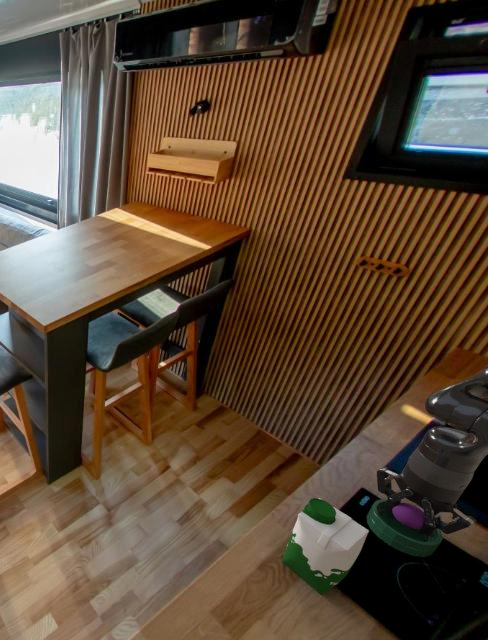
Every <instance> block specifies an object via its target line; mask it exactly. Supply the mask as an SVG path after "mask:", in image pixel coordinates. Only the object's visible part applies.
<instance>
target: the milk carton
mask: <svg viewBox="0 0 488 640" xmlns="http://www.w3.org/2000/svg"><path fill="white" fill-rule="evenodd" d="M369 532H370V530H369V529H367V528H366V527H364V526H362V525H361V524H360V523H358V522H357V521H355V520H354V519H353V518H352V517H350V516H349V515H347V514H345V513H344V512H342V511H341V510H339V509H338V508H336V507H334V506H333V505H332V504H330V503H329V502H328V501H326V500H324V499H322V498H321V497H318V498H317V497H313V498H312V497H311V498H309V500H308V503H307V504H306V505H305V506H304V508H303V509H302V510H300V513H298V514H297V519H296V522H295V524H294V527H293V529H292V532H291V534H290V537H289V539H288V541H287V544H286V549H285V551H284V554H283V557H282V561H281V562H282V563H283V564H284V565H285V566H286V567H288V568H289V569H290V570H291V571H292V572H293V573H295V574H296V575H297V576H298V577H299V578H300V579H301V580H303V581H304V582H305V583H307V585H309V586H310V587H311V588H312V589H314V590H315V591H316V592H317V593H318V594H319V595H323V594H325V593H326V592H328V591H329V590H331V589H332V588H333V587H335V586H336V585H338V584H339V583H340V582H342V580H343V579H345V577H347V576H348V574H349V573H350V571H351V569H352V567H353V566H354V564H355V562H356V560H357V558H358V557H359V555H360V553H361V551H362V549H363V546H364V543H365V541H366V539H367V536H368V534H369Z"/></svg>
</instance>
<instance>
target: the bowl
mask: <svg viewBox="0 0 488 640" xmlns="http://www.w3.org/2000/svg"><path fill="white" fill-rule="evenodd" d="M387 499H388V498H385V499H384V498H382V499H377V500H375V501H374V503H373V504H372V505H371V507H370V509H369V511H368V513H367V514H366V523H367V525H368V527H369V529H370V530H371V532H373V533H374V535H376V536H377V538H378V539H380V540H381V541H382V540H383V541H382V542H384V543H385V544H386V543H387V544H386V545H387V546H390V547H391V548H393V549H394V550H397V551H399V552H401V553H404V554H405V555H406V554H407V555H409V556H412V557H418V558H426V557H429V556H430V557H431V556H432V555H433V554H434V552H435V551H436V550H437V548H438V547H439V546H440V544H441V543H442V541H443V538H444V537H443V534H442V533H443V532H442V531H441V530H440V529H437V530H436V531H435V532H434V533H433V534H432V535H430V536H428V535H426V534H425V535H422V534H420V533H419V530H420V529H414V528H410V527H407V526H405V525H403V524H402V523H400V522H399V521H398V520H397V519H396V518H395V516H394V515H393V512H392V513H389V512H387V511H386V510H387V508H385V507H384V504H385V503H386V501H387ZM400 503H402V501H401V502H400Z"/></svg>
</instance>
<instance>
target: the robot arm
mask: <svg viewBox="0 0 488 640" xmlns="http://www.w3.org/2000/svg"><path fill="white" fill-rule="evenodd" d="M484 398H486V399H488V363H487V364H485V365H484V367H482V368H481V369H480V370H479V371H477V372H476V373H475V374H472V375H471V376H469V377H467V378H465V379H463V380H460V381H458V382H456V383H453V384H451V385H447V386H445V387H442V388H440V389H438V390H436V391H434V392H433V393H431V394H429V396H427V398H426V400H425V402H424V408H425V411H426V413H427V414H428V415H429V416H430V417H432V418H434V419H436V420H437V421H439V422H442V423H444V424H447V425H449V426H451V427H448V426H433V427H431V428H429V429H428V430H426V433H425V434H424V435H423V438H422V440H421V441H420V443H419V445H418V446H417V448H415V449H414V451H413V452H412V453H411V455H410V456H409V457H408V459H407V462H406V464H405V465H404V468H403V470H402V471H401V473H396V472H394V471H392V470H391V468H390V467H388V466H383V467H381V468H379V469H377V470H376V483H377V487H376V488H377V491H378V492H379V493H380V494H384V495H385V496H386V499H387V501H386V503H385V504H384V507H385V508H387V510H386V511H387V512H389V513H392V509H393V507H394V506H395V505H396V504H398V503H400V502H401V503H402V500H405V499H406V500H408V501H409V502H412V503H413V504H415V505H417V507H418V508H420V509H421V510H423V512H424V516H426V522H425V523H424V524H423V526H422V527H421V529H420V530H419V533H420V534H422V535H425V534H426V535H428V536H430V535H432V534H433V533H434V532H435V531H436V530H437V529H440V531H441V533H443V534H445V535H450V534H454V533H456V532H459V531H463V530H465V529H467V528H470V527H471V526H472V525H474V524H475V523H477V519H476V518H475V517H473V516H472V515H466V514H464V513H463V512H462V511H460V510H459V509H458V506H457V501H458V500H459V499H460V497H461V496H462V494H463V493H464V491H465V490H466V488H467V487H468V486H469V484H470V483H471V482H472V479H473V477H474V474H475V471H476V470H477V468H478V467H479V465H480V464H481V463H482V461H483V460H484V459H485V457H486V456H488V400H486V399H484ZM393 480H394V481H395V483H396V485H397V487H398V489H399V490H397V491H394V490H393V487H392V485H393V484H392V481H393ZM443 513H450V514H451V515H452V517H451V519H452V521H450V522H445V521H443Z"/></svg>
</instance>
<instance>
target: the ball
mask: <svg viewBox="0 0 488 640" xmlns="http://www.w3.org/2000/svg"><path fill="white" fill-rule="evenodd" d="M392 512H393V515H394V516H395V518H396V519H397V520H398V521H399V522H400V523H402V524H403V525H405V526H407V527H410V528H414V529H421V527H422V526H423V524H424V523H425V522H426V516H424V510H423V509H422V508H420V507H419V506H416V505H415V504H411V503H409V502H401V503H398V504H396V505H395V506H394V507H393V509H392Z"/></svg>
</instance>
